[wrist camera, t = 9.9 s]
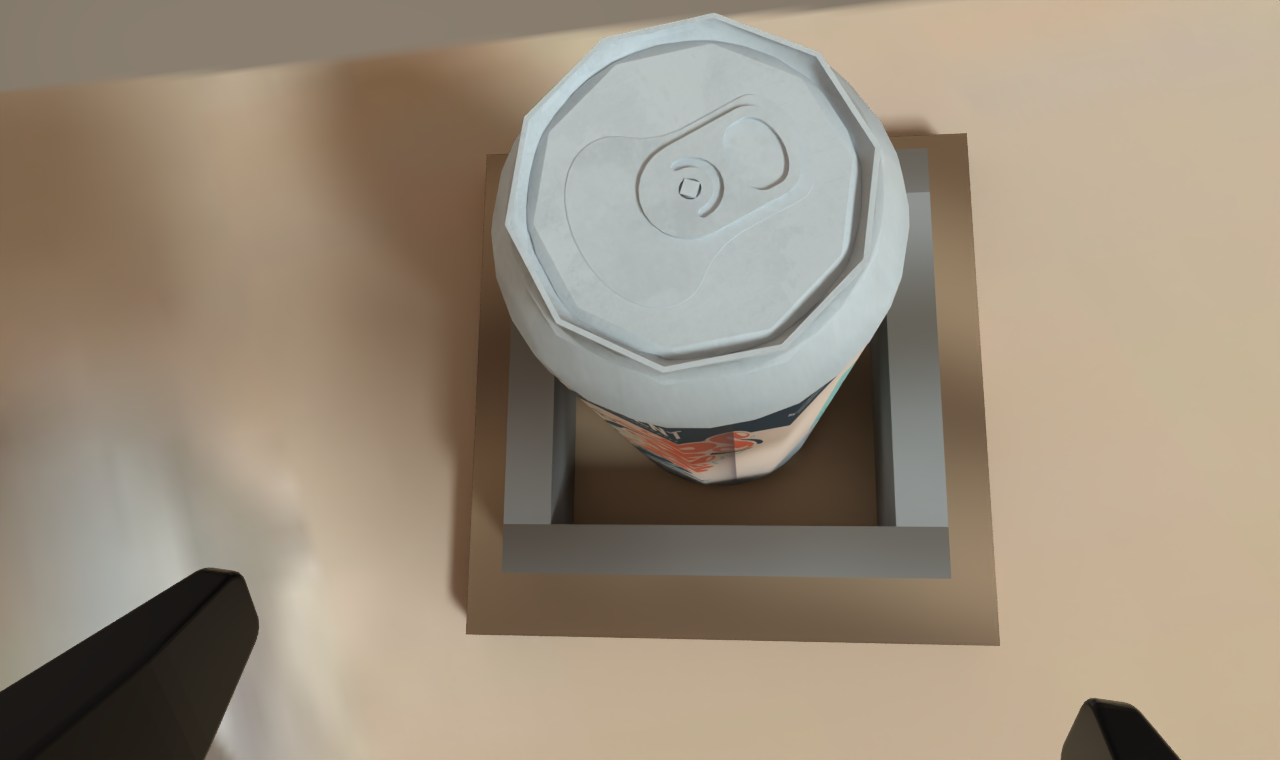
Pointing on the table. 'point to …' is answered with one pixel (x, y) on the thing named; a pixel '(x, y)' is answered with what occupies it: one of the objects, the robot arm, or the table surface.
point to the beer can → (701, 240)
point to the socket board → (755, 481)
